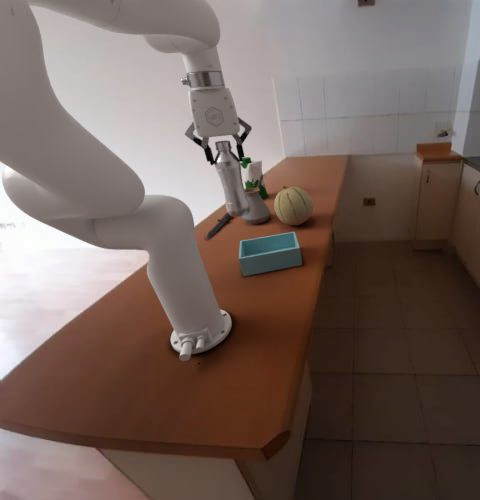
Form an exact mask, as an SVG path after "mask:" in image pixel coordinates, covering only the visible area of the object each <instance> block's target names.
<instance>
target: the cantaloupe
mask: <svg viewBox="0 0 480 500" xmlns="http://www.w3.org/2000/svg"><path fill="white" fill-rule="evenodd" d="M273 208H274V211H275V214H276V217H277V218H278V219H279V220H280V222H282V223H283V224H285V225H288V226H300V225H301V224H304V223H306V222H307V221H308V220H309V219H311V216H312V215H313V211H314V205H313V201H312V198H311V196H310V194H309V193H308V192H307V191H306V190H305V189H303V188H302V187H299V186H290V187H288V186H286V185H284V186H282V190H280V191H279V192H278V193H277V194H276V196H275V198H274V201H273Z"/></svg>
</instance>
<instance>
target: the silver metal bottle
mask: <svg viewBox="0 0 480 500" xmlns="http://www.w3.org/2000/svg"><path fill="white" fill-rule="evenodd" d="M214 146H215V150H216V151H217V153H216V155H215V158H214V164H213V166H214V168H215V171H216V173H217V175H218V178H219V181H220V183H221V186H222V189H223V194H224V195H223V196H224V199H225V200H224V201H225V202H224V203H225V209H226V213H227V212H228V214H229V215H231V216H232V217H233V218H239V217H242V216H245V215H247V214H249V212H250V210H251V208H250V203H249V200H248V198H247V196H246V193H245V190H246V188H245V187H244V186H245V185H244V183H243V174H242V170H241V166H240V165H241V164H240V163H241V162H240V161H239V156H238V155H236V153H234V152H233V151H232V148H233V146H232V145H231V141H230V140H219V141H214Z"/></svg>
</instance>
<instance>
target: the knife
mask: <svg viewBox="0 0 480 500" xmlns="http://www.w3.org/2000/svg"><path fill="white" fill-rule="evenodd" d="M232 217H233V216H231V215H229V214H228V212H227V211H226V213H225V214H224V215H223V216H222V217H221V219H219V218H217V224H215V225H214V226H213V227H212V228H211V229H210V230H209V231H208V232H207V234H206V239H207V240H209V239H210V238H211V237H213V236H214V235H215V234H216V233H217V232H218V231H219V230H220V229H221V228H222V227H223V226H224V225H225V224H230V219H231V218H232Z"/></svg>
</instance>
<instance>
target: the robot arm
mask: <svg viewBox="0 0 480 500" xmlns="http://www.w3.org/2000/svg"><path fill="white" fill-rule="evenodd" d="M31 6H32V7H38V8H43V9H46V10H49V11H51V12H55V13H57V14H61V15H63V16H66V17H67V16H68V17H69V18H72V19H75V20H78V21H81V22H83V23H86V24H89V25H92V26H94V27H97V28H100V29H102V30H105V31H108V32H112V33H117V34H124V35H134V36H141V38H142V40H144V42H145V43H146V44H147V45H148V46H149V47H151V48H152V49H153V50H155V51H156V52H159V53H163V54H179V53H180V54H181V58H182V61H183V64H184V69H185V71H186V75H185V76H184V77H181V78H180V79H181V83H182V85H183V86H188V87H189V88H190V90H188V91H187V96H188V97H187V98H188V104H189V108H190V114H191V118H192V122H191V123H190V125H189V126H188V128H187V129H186V130H185V132H184V136H185V137H187V138H188V139H189V140H191V141H192V142H193V143H195V145H198V146H199V147H200V148H201V149H202V150H203V151H204V155H205V159H206V162H209V165H210V166H214V161H215V158H214V155H213V151H212V147H210V145H209V141H210V138H213V137H215V138H217V137H223V136H224V137H225V136H232V138H233V139H234V140H235V142H236V145H235V148H236V151H237V157H238V159H239V161H240V163H241V162H242V161H243V159H242V158H245V157H246V156H245V152H244V148H243V144H244V142H245V141H246V139H247V138H248V136H249V135H250V133H251V131H252V130H253V128H252V126H251V125H250V124H249V123H248V122H247V121H245V120H244V119H242V118H241V117H239V116H238V112H237V108H236V105H235V101H234V98H233V94H232V93H231V90H230V88H229V87H226V82H225V79H224V74H223V70H222V65H221V61H220V57H219V52H218V48H217V46H218V44H219V42H220V40H221V25H220V22H219V20H218V17H217V15H216V12H215V10H214V9H213V7H212V6H211V5H210V3H209V2H208V1H207V0H0V163H1V164H3V165H5V167H4V168H3V171H2V175H1V182H2V187H3V190H4V193H5V194H6V196H7V197H8V198H9V200H10V201H11V203H13V205H15V207H17V208H18V209H19V210H20V211H21V212H22V213H24V214H26V215H27V216H29V217H30V218H32V219H34V220H36V221H38V222H40V223H42V224H44V225H46V226H49V227H51V228H53V229H56V230H58V231H59V232H62V233H64V234H66V235H67V236H71V237H73V238H75V239H77V240H79V241H82V242H84V243H86V244H88V245H91V246H94V247H97V248H99V249H104V250H113V251H114V250H115V251H116V250H117V251H122V250H123V251H126V250H127V251H128V250H129V251H133V250H134V251H146V252H147V253H148V262H147V265H146V275H147V278H148V280H149V282H150V284H151V287H152V288H153V290H154V293H155V294H156V296H157V299H158V301H159V302H160V304H161V307H162V309H163V310H164V312H165V315H166V317H167V318H168V321H169V322H170V325H171V326H172V328H173V331H172V333H171V335H170V344H171V346H172V349H173V350H175V351H176V352H177V353H179V357H178V359H179V361H181V362H188V361H189V360H190V359H191V356H192V355H196V354H200V353H203V352H206V351H209V350H211V349H213V348H215V347H216V346H217V345H219V344H220V343H221V342H223V341H224V340H225V339H226V337H227V336H228V335H229V333H230V332H231V331H232V330H231V329H232V326H233V321H232V318H231V315H230V314H229V313H228V312H227V311H226V310H223V309H220V306H219V303H218V301H217V298H216V295H215V292H214V289H213V286H212V284H211V281H210V278H209V276H208V275H209V274H208V273H207V270H206V267H205V265H204V262H203V258H202V256H201V253H200V249H199V247H198V246H199V245H198V241H197V237H196V229H195V221H194V216H193V212H192V211H191V208H190V207H189V206H188V204H187V203H185V202H184V201H182V199H180V198H178V197H174V196H171V195H165V194H146V188H145V185H144V182H143V181H142V179H141V177H140V176H139V175H138V174H137V172H136V171H135V170H134V169H133V168H131V166H130V165H128V164H127V163H126V162H125V161H124V160H123V159H121V157H119V156H118V155H117V154H116V153H114V151H113V150H111V149H110V148H109V147H108V146H106V145H105V144H104V143H103V142H101V140H99V138H97V137H96V136H94V135H93V134H92V133H91V132H90V131H89V130H88V129H86V128H85V127H84V126H83V125H82V124H81V123H80V122H79V121H78V120H77V119H76V118H75V117H73V115H71V114H70V113H69V112H68V110H67V109H66V108H65V107H64V106H63V105H62V103H61V102H60V100H59V98H58V96H57V95H56V92H55V90H54V88H53V86H52V85H51V84H52V83H51V81H50V78H49V74H48V70H47V66H46V61H45V54H44V46H43V41H42V34H41V29H40V27H39V24H38V22H37V19H36V17H35V15H34V12H33V10H32V8H31ZM241 126H242V128H244V131H243V132H242V133H241V135H239V133H240V130H241ZM194 132H195V133H196V135H197V136H196V135H195V134H194ZM199 137H200V138H199ZM201 138H202V139H201Z"/></svg>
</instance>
